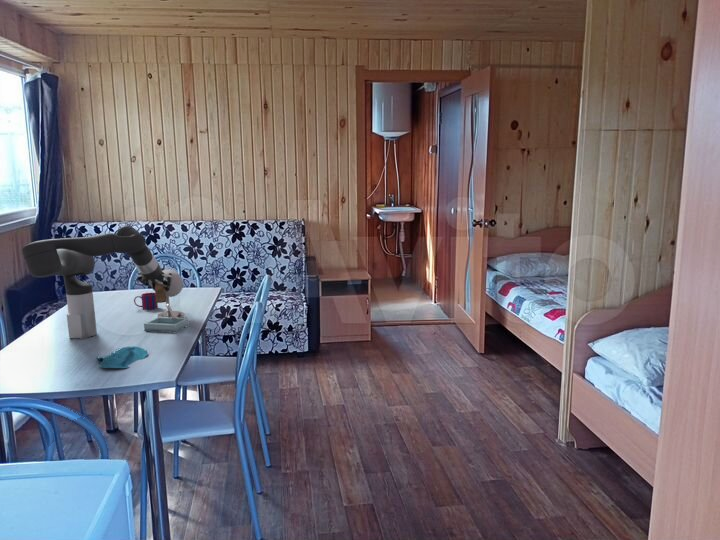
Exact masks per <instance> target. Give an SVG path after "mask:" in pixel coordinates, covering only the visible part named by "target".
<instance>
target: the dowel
mask: <svg viewBox="0 0 720 540" xmlns="http://www.w3.org/2000/svg"><path fill="white" fill-rule="evenodd" d="M154 293H155V295H156V303H158V304H162V303H163V304H164V303H166V290H165V289H164V286H163V285H160V284H159V283H158V282H155V290H154Z"/></svg>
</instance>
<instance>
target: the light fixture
mask: <svg viewBox="0 0 720 540" xmlns="http://www.w3.org/2000/svg"><path fill="white" fill-rule="evenodd" d="M162 272H164V274H167V275H169V273H171V274H172V282H171V285H170V289H169V291H168V292H166V302H165V305H166V309H167V310H166V311H162V312H159V313H158V314H157V317H168V318H172V321H175V320H176V318H185V313H184V312H182V311H178V310H173V309H172V308H171V303H170V298H173V297H176V296H178V295H180V293H181V291H182V290H183V288H184V280H183V277H182V276H181V275H180V274H179V273H178V272H177V271H176V270H174V269H172V268H171V269H170V268H168V269H167V268H166V269H162ZM165 279H166V278H165Z"/></svg>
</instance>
